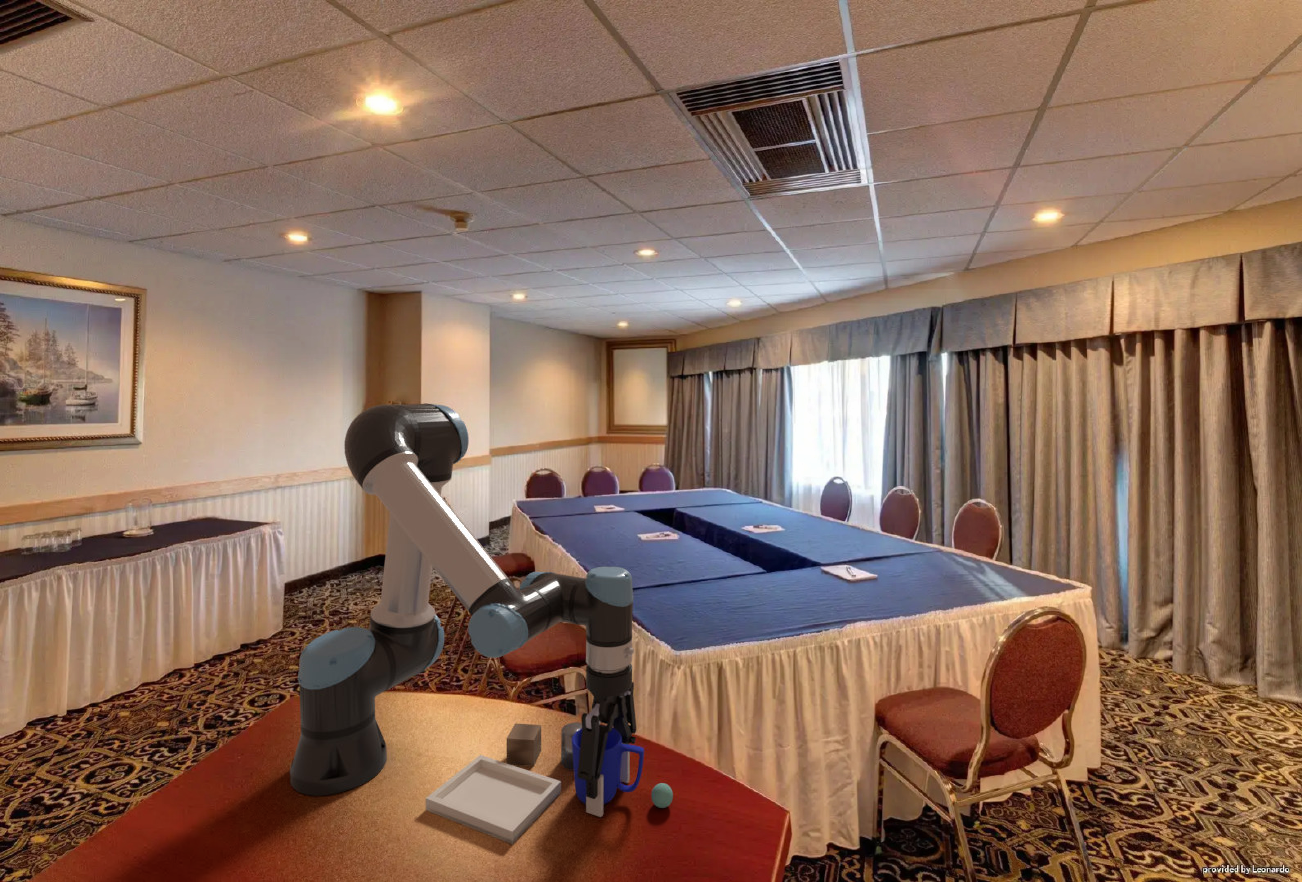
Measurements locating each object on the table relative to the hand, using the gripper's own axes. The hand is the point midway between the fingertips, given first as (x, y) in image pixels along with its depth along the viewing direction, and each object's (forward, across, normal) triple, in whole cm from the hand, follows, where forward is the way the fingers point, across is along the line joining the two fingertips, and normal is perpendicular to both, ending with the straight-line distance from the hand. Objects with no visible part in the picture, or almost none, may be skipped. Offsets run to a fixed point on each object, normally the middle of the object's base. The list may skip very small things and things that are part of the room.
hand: (608, 795), depth 101 cm
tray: (0, -9, +16) cm, 19 cm away
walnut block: (0, +3, +19) cm, 19 cm away
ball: (0, +2, -9) cm, 9 cm away
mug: (0, 0, 0) cm, 1 cm away
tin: (0, +6, +10) cm, 12 cm away
